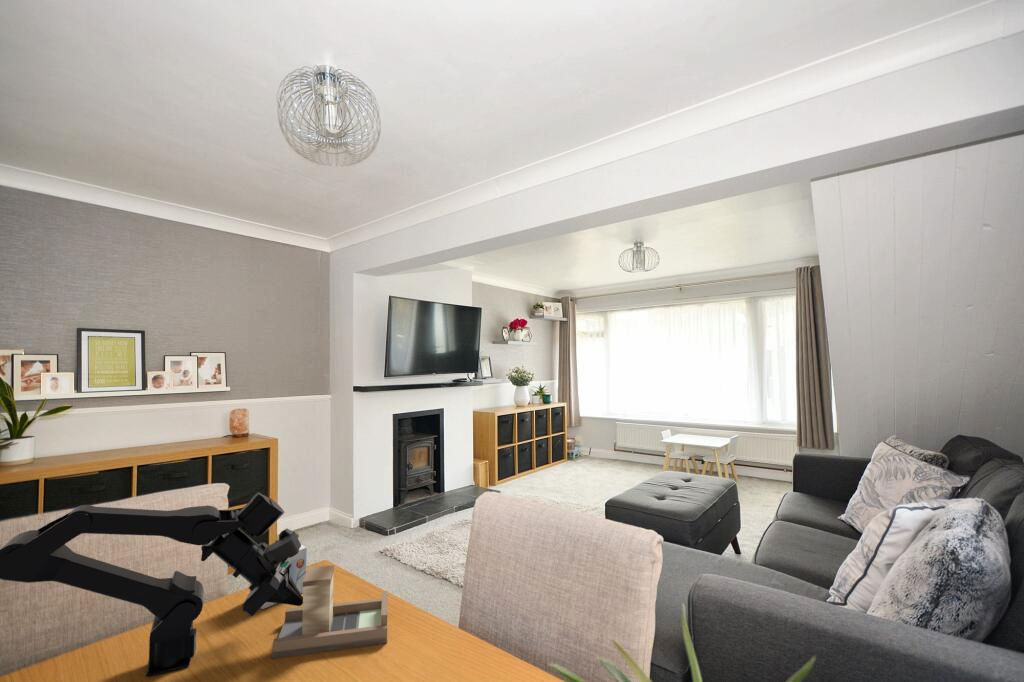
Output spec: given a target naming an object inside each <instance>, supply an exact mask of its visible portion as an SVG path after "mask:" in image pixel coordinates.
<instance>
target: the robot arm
mask: <svg viewBox="0 0 1024 682" xmlns="http://www.w3.org/2000/svg"><path fill="white" fill-rule="evenodd" d="M284 514H285V510H284V508H282V507H281V506H280V505H279V504H278V503H277V502H276V501H275V500H274V499H272V498H271V497H268V496H266V495H264V494H262V493H261V492H259V491H258V492H256V493H255V494H254V495H253V496H252V498H251V499H250V501H248V502H247V503H246V504H245V505H244V506H243V507H242V508H241V509H218V508H217V507H215V506H213V505H200V506H189V507H184V508H180V509H174V510H164V509H163V510H162V509H158V510H157V509H146V508H145V509H142V508H125V507H109V506H105V507H104V506H94V505H91V504H82V505H79V506H76V507H75V508H73V509H71V511H69V512H68V513H66V514H64V515H62V516H60V517H58V518H56V519H54V520H51V521H50V522H47V524H45V525H43V526H42V527H40V528H38V529H34V530H33V529H30V530H28V531H24V532H20V533H18V534H17V535H15V536H13V537H11V539H10V540H9V541H8V542H7V543H5V544H4V546H2V547H1V548H0V580H1V581H9V582H17V583H29V584H31V583H32V584H33V583H45V582H54V583H55V582H56V583H59V584H63V585H67V586H70V587H74V588H78V589H81V590H84V591H88V592H90V593H91V592H92V593H95V594H98V595H101V596H106V597H109V598H114V599H117V600H120V601H124V602H128V603H131V604H135V605H138V606H141V607H144V608H145V609H146V610H148V611H149V612H150V613H151V614H152V615H153V616H154V617H153V620H152V625H151V627H150V628H151V629H150V633H149V637H148V638H149V642H148V645H149V646H148V666H147V670H146V671H145V677H152V676H156V675H159V674H164V673H168V672H171V671H176V670H180V669H184V668H187V667H189V666H190V663H191V661H192V658H193V657H194V656H195V653H196V650H197V628H196V627H194V621H195V620H196V619H197V618H199V616H200V615H201V613H202V611H203V607H204V595H205V593H204V592H205V590H204V586H203V584H202V583H201V582H200V581H198V580H197V578H198V576H196V575H192V576H191V575H187V574H185V573H183V572H180V571H179V570H174V572H173V575H172V577H165V578H160V577H159V578H158V577H154V576H151V575H147V574H144V573H141V572H138V571H135V570H131V569H129V568H125V567H122V566H118V565H114V564H112V563H107V562H106V561H103V560H102V561H101V560H99V559H96V558H92V557H89V556H85V555H82V554H80V553H76V552H75V551H73V550H72V549H71V548H70V547H68V546H67V545H66V544H67V543H69V542H71V541H73V539H75V538H77V537H78V536H80V535H82V534H92V535H95V534H97V535H121V536H122V535H123V536H125V535H126V536H148V537H150V536H151V537H153V536H155V537H164V538H169V539H171V540H173V541H176V542H178V543H185V544H188V545H194V546H201V547H200V549H201V558H200V561H201V562H205V561H206V560H207V559H208V558H209V557H210V556H211V555H212V554H214V555H215V556H216V557H218V558H219V559H220V560H221V561H222V562H224V563H225V564H226V565H227V566H228V567H230V568H231V569H232V570H233V573H232V576H233V577H234V578H236V579H237V578H238V577H239V576H241V577H242V578H243V579H245V581H247V582H248V583H249V586H248V589H249V593H248V594H247V596H246V598H245V599H244V602H243V603H242V612H244V613H245V614H246V615H247V616H248V617H250V618H251V617H253V616H254V615H255V614H256V613H257V612H258V611H259V610H260V609H261V607H262V606H263V605H264V604H265V603H266V602H273V603H277V604H283V605H290V606H295V607H302V606H303V594H301V593H300V592H299V590H298V588H297V587H296V585H295V583H294V582H293V580H292V578H291V567H292V564H290V565H289V566H288V567H287V568H284V567H282V568H281V565H282V564H283V563H284V562H285V561H286V560H287V559H288V558H289V557H290V558H291V557H293V556H295V555H296V554H297V553H298V552H299V549H300V547H301V545H302V544H301V542H300V539H299V535H300V534H298V533H296V531H293V530H291V529H290V528H288V527H287V528H285V529H283V530H281V531H280V533H279V534H278V539H277V540H275V541H274V542H273V543H271V544H270V545H269V544H267V542H260V543H259V544H258V543H257V542H256V541H255V540H254V539H252V538H251V537H257V538H258V537H260V536H263V535H264V534H266V532H267V531H268V530H269V529H270V528H271V527H272V526H273V525H274V524H275V523H276V522H277V521H278V520H279V519H281V517H282V516H283V515H284ZM241 529H242V530H241ZM246 533H247V534H246ZM248 535H249V536H248ZM250 536H251V537H250ZM250 583H251V585H250ZM250 590H251V592H250Z"/></svg>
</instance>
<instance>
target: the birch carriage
mask: <svg viewBox="0 0 1024 682" xmlns="http://www.w3.org/2000/svg"><path fill="white" fill-rule="evenodd" d="M334 571H335V565H325V566H324V565H322V566H310V567H307V568H306V574H305V577H304V580H303V593H302V597H303V604H302V607H303V623H302V635H309V634H317V633H325V632H330V627H331V623H332V618H333V604H334V573H335V572H334Z"/></svg>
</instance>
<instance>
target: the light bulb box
mask: <svg viewBox="0 0 1024 682" xmlns="http://www.w3.org/2000/svg"><path fill="white" fill-rule="evenodd" d="M307 552H308V547H306V546H305V545H302V544H301V547H300V549H299V552H298V553H297V554H296V555H295V556H293V557H291V558H290V557H289V558H288V559H287V560H286V561H285V562H284V563H283V564H282V565H281V568H282V567H284V568H287V567H288V566H289V565H290V564H292V567H291V578H292V580H293V582H294V583H295V585H296V587H297V588H298V590H299V592H300V593H302V594H303V580H304V577H305V574H306V572H307V561H308V560H307V558H308V556H307V554H308V553H307ZM250 585H251V583H249V586H250ZM250 592H251V590H250V589H249V593H250ZM276 604H278V603H273V602H266V603H265V604H264V605H263V606H262V607H261V608H260V609H261V610H264V609H267V608H269V607H271V606H273V605H276Z"/></svg>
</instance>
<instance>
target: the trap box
mask: <svg viewBox="0 0 1024 682" xmlns="http://www.w3.org/2000/svg"><path fill="white" fill-rule="evenodd" d="M388 596H389V593H388V590H386V591H381V597H379V598H371V599H362V600H354V601H353V600H352V601H346V602H343V601H342V602H336V603H334V602H333V618H332V623H331V627H330V632H325V633H317V634H309V635H302V623H303V606H298V607H292V608H286V609H285V612H284V622H283V625H282V627H281V630H280V632H279V634H278V638H273V641H272V659H278V658H279V659H280V658H287V657H294V656H295V657H296V656H302V655H308V654H317V653H325V652H330V651H331V652H332V651H338V650H339V651H340V650H346V649H353V648H361V647H367V646H369V647H370V646H376V645H383V644H387V643H388V606H389V605H388V599H389V598H388Z"/></svg>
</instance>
